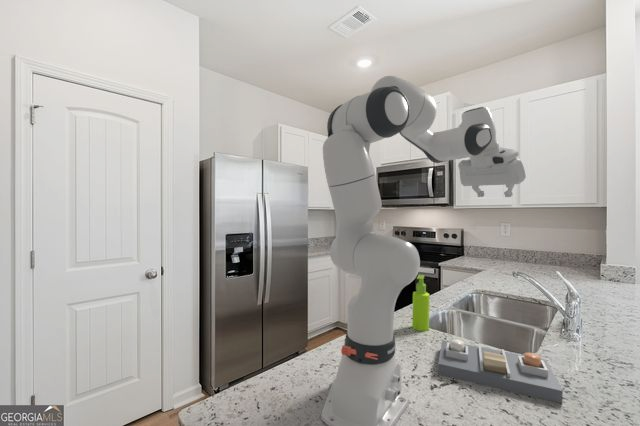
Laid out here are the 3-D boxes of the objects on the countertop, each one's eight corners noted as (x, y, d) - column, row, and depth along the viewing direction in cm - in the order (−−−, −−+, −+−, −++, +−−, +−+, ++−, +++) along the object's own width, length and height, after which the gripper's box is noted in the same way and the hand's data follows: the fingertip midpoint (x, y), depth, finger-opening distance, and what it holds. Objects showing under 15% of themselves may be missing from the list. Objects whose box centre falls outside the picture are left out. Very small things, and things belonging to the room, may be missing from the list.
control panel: (562, 403, 70) (562, 383, 70) (438, 374, 82) (438, 357, 81) (545, 369, 84) (546, 353, 84) (442, 349, 96) (442, 334, 96)
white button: (464, 353, 84) (464, 345, 84) (450, 350, 86) (450, 343, 86) (464, 348, 87) (464, 340, 87) (450, 345, 89) (450, 338, 89)
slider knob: (505, 373, 76) (505, 362, 76) (484, 369, 78) (484, 357, 78) (503, 366, 80) (504, 355, 80) (483, 362, 82) (483, 351, 82)
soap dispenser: (410, 330, 110) (411, 276, 110) (414, 323, 117) (414, 272, 116) (427, 333, 108) (427, 278, 107) (429, 326, 114) (430, 274, 113)
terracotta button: (542, 369, 76) (542, 360, 76) (525, 365, 78) (525, 357, 78) (539, 362, 80) (539, 354, 80) (523, 359, 81) (523, 351, 81)
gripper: (451, 163, 105) (461, 199, 108) (512, 157, 87) (521, 200, 90) (462, 157, 108) (471, 193, 111) (523, 149, 90) (532, 192, 93)
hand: (494, 196), depth 101 cm, fingers open, 8 cm apart
